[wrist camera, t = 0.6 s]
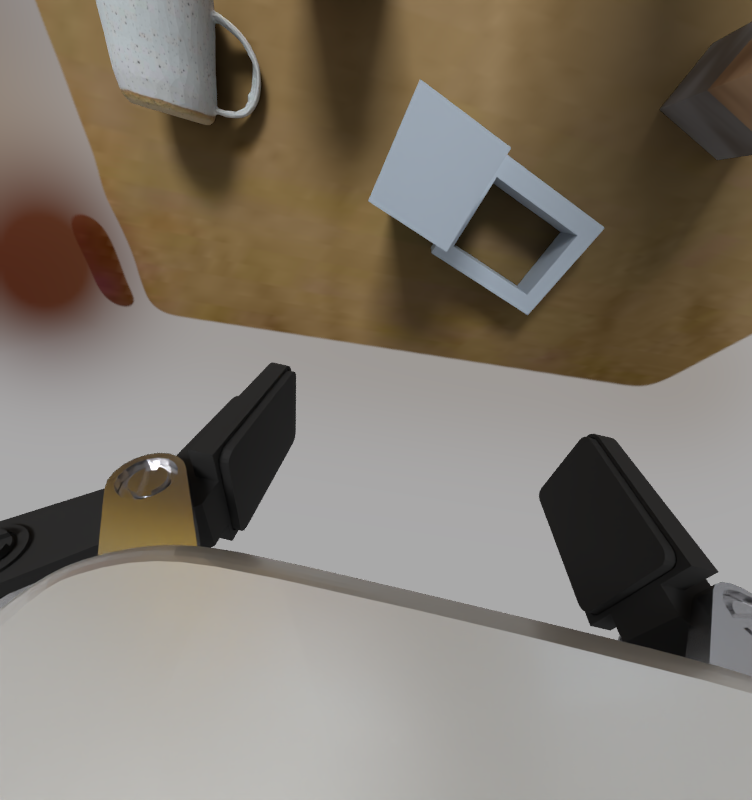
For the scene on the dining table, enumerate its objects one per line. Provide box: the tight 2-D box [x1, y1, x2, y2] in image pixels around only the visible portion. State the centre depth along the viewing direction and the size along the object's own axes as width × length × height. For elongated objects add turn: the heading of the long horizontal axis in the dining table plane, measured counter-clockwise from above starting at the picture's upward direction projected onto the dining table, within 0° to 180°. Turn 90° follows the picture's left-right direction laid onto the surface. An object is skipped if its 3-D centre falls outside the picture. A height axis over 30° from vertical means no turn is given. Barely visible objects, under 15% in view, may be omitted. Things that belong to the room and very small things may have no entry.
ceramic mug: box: [96, 0, 261, 125], centre depth 23 cm, size 11×8×8 cm
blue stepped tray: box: [368, 79, 604, 315], centre depth 24 cm, size 9×18×14 cm, turn 62°
